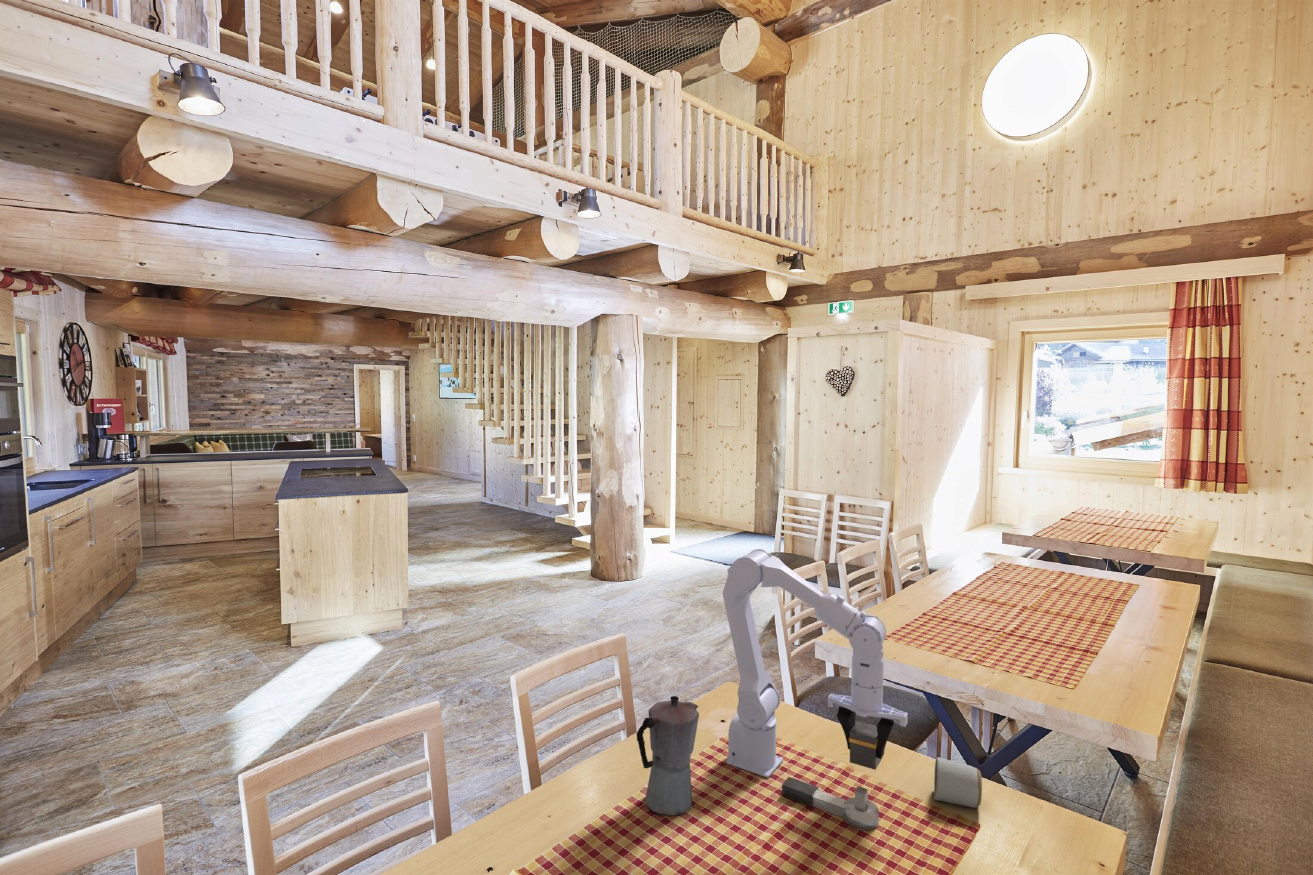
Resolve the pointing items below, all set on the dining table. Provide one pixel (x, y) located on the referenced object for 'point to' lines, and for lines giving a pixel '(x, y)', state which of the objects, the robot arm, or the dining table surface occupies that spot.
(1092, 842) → the dining table surface
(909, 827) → the dining table surface
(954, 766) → the ceramic mug
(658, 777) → the moka pot
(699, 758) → the dining table surface
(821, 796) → the ratchet
